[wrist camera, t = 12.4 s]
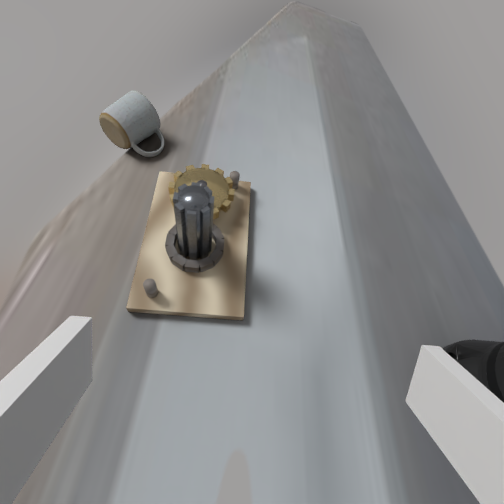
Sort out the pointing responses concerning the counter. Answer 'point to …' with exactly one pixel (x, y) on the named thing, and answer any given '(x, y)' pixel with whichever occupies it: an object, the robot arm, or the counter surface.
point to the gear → (207, 178)
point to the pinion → (194, 220)
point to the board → (193, 262)
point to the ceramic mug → (131, 122)
